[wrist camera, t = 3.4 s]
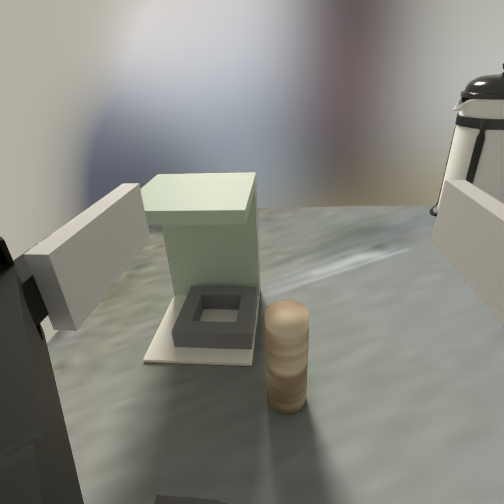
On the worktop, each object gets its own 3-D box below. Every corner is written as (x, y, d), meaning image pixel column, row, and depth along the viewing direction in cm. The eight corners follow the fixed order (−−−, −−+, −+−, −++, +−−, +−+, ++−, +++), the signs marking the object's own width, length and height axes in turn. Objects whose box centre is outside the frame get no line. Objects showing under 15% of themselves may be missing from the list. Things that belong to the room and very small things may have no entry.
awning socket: (251, 366, 39) (242, 218, 30) (143, 361, 41) (104, 219, 32) (260, 290, 52) (255, 172, 44) (178, 289, 54) (157, 174, 45)
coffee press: (499, 247, 61) (565, 54, 47) (414, 221, 72) (446, 60, 58) (531, 220, 70) (595, 52, 56) (451, 201, 81) (487, 57, 67)
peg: (313, 404, 34) (318, 319, 29) (278, 420, 33) (277, 334, 28) (293, 376, 38) (294, 295, 32) (260, 390, 36) (257, 308, 31)
